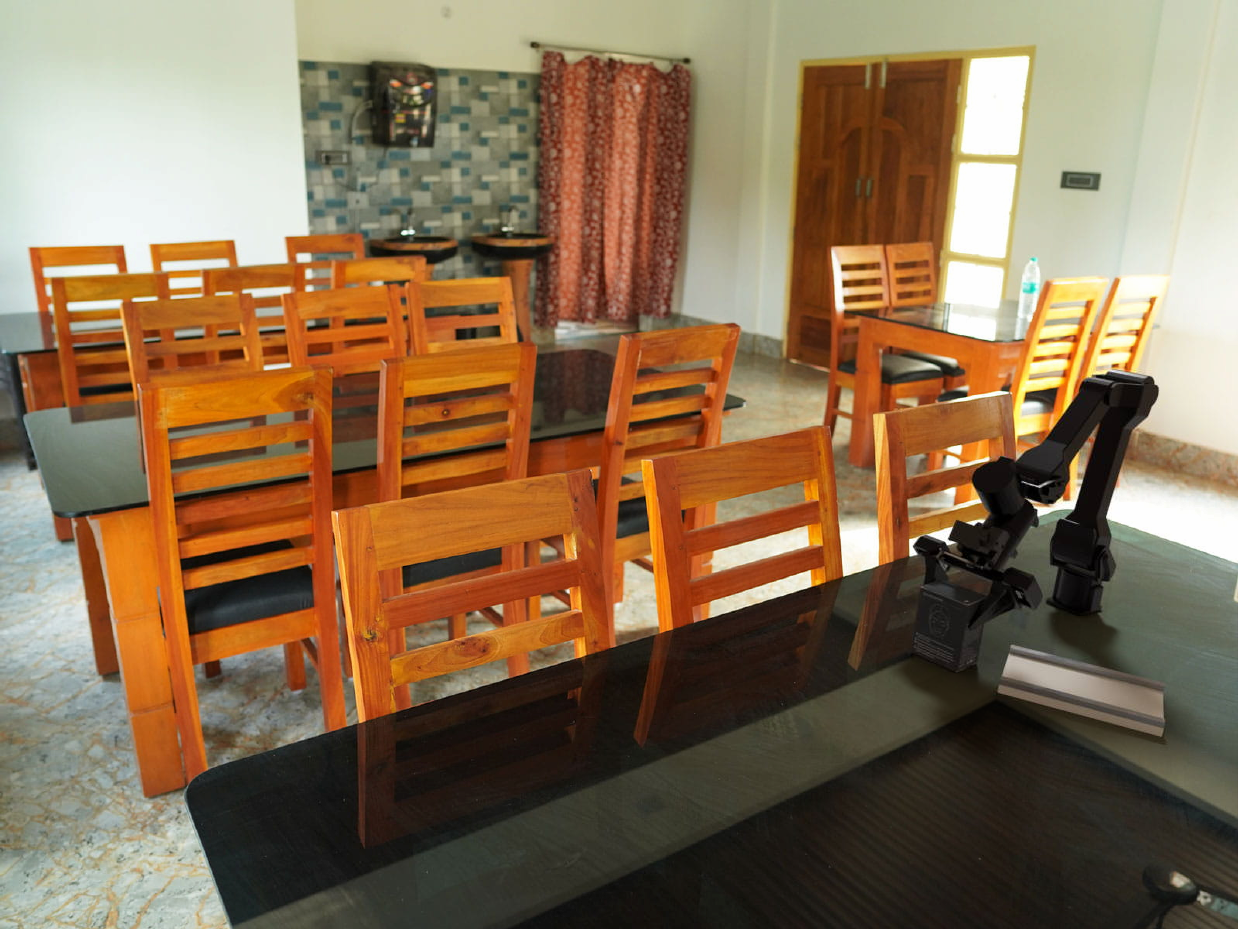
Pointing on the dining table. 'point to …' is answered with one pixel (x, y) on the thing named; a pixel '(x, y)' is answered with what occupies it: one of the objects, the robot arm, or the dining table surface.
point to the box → (947, 625)
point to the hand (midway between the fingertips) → (944, 617)
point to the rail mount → (1084, 689)
